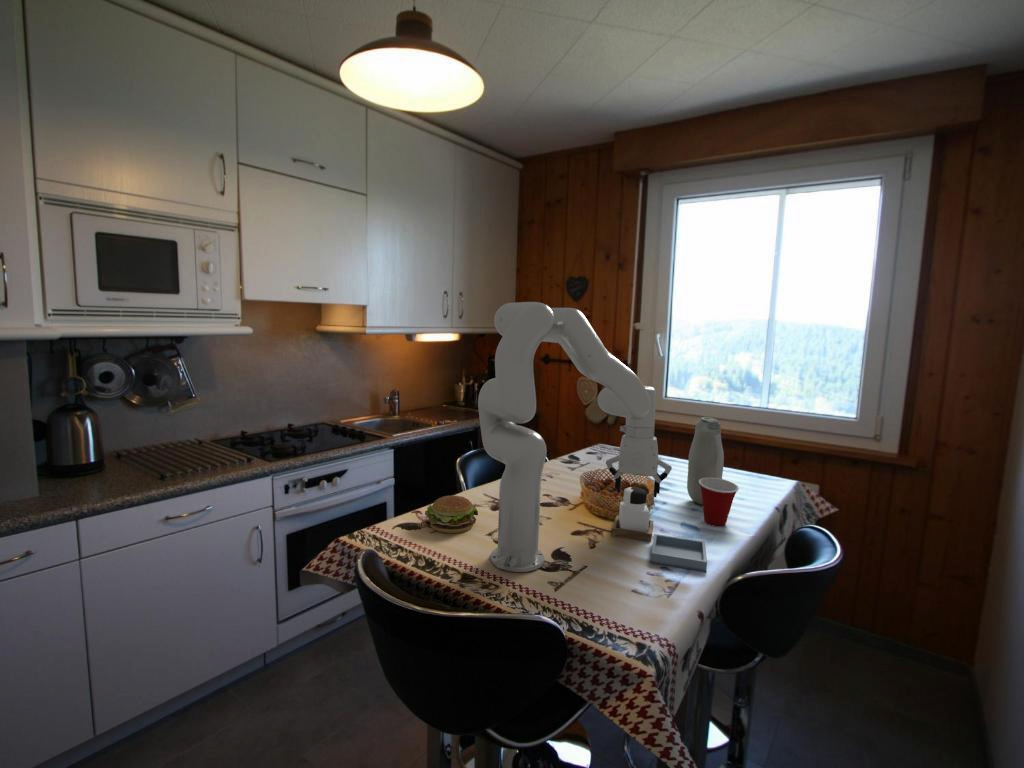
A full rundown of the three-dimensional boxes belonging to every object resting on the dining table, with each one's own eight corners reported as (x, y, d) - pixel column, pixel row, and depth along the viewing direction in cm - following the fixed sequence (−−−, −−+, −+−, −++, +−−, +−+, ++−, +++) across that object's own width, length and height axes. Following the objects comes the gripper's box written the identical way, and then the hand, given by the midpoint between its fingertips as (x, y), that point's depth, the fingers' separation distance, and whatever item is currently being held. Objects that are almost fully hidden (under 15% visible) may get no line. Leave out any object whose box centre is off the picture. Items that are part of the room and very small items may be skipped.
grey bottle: (726, 507, 166) (733, 419, 163) (700, 510, 163) (707, 421, 159) (704, 497, 176) (710, 414, 172) (679, 499, 172) (685, 415, 169)
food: (414, 525, 143) (415, 497, 142) (455, 513, 153) (455, 486, 152) (446, 541, 133) (446, 511, 132) (487, 527, 143) (488, 499, 142)
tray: (706, 572, 121) (707, 562, 121) (650, 563, 125) (651, 553, 124) (704, 550, 133) (705, 541, 132) (653, 543, 136) (654, 533, 136)
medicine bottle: (644, 527, 147) (646, 485, 145) (648, 537, 140) (651, 494, 138) (618, 525, 148) (620, 484, 146) (620, 535, 140) (623, 492, 139)
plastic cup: (711, 531, 145) (714, 489, 144) (687, 517, 156) (691, 478, 154) (744, 528, 148) (747, 487, 147) (719, 515, 159) (722, 476, 157)
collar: (650, 541, 137) (651, 534, 137) (611, 535, 140) (611, 528, 140) (653, 527, 147) (653, 520, 147) (616, 522, 150) (616, 515, 150)
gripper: (605, 432, 140) (602, 494, 142) (673, 437, 134) (669, 502, 137) (609, 426, 147) (606, 485, 149) (673, 431, 141) (670, 493, 144)
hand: (636, 493), depth 143 cm, fingers open, 9 cm apart
